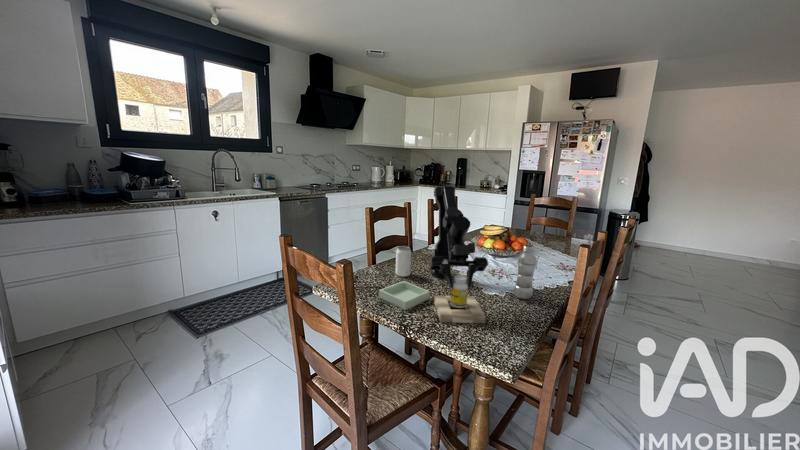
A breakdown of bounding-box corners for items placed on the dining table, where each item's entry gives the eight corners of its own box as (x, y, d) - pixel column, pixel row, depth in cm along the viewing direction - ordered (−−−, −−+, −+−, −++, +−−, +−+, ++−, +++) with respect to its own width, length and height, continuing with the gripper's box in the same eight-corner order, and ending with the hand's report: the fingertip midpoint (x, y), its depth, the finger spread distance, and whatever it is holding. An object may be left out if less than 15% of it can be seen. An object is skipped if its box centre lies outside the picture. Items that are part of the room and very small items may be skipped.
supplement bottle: (446, 302, 105) (449, 274, 103) (460, 299, 108) (462, 273, 106) (456, 309, 101) (458, 281, 99) (469, 306, 103) (472, 278, 101)
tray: (403, 288, 122) (403, 280, 122) (429, 299, 113) (430, 291, 113) (378, 297, 113) (379, 289, 112) (404, 310, 104) (405, 302, 104)
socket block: (434, 302, 111) (434, 295, 111) (473, 302, 112) (473, 296, 111) (440, 322, 97) (440, 314, 97) (484, 323, 98) (485, 315, 97)
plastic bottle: (509, 295, 119) (515, 244, 115) (522, 292, 122) (529, 243, 118) (521, 302, 113) (528, 249, 109) (535, 299, 116) (542, 247, 112)
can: (408, 277, 133) (409, 250, 130) (393, 276, 134) (394, 249, 132) (411, 272, 139) (412, 246, 137) (397, 271, 140) (398, 245, 138)
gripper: (432, 232, 102) (435, 277, 94) (489, 234, 103) (496, 278, 95) (428, 248, 112) (430, 290, 104) (480, 250, 113) (486, 291, 104)
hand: (460, 287), depth 101 cm, fingers closed on supplement bottle, 5 cm apart
